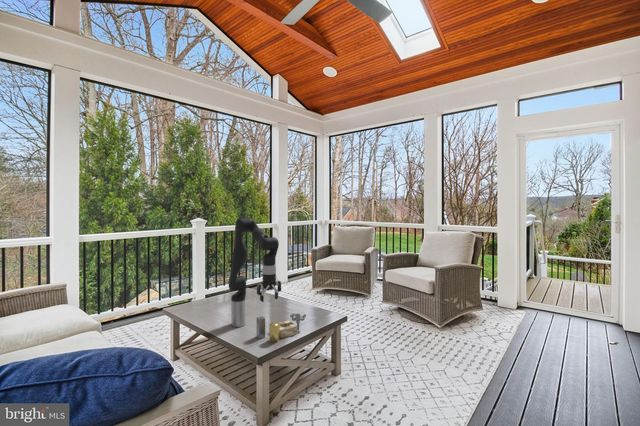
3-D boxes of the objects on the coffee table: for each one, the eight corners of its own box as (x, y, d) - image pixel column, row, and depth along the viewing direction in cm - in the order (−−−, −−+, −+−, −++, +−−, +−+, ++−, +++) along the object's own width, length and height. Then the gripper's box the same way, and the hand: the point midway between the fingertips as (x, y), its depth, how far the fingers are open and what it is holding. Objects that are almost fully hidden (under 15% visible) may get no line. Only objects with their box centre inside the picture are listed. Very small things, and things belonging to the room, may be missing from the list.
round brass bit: (268, 339, 194) (267, 323, 193) (276, 337, 197) (276, 321, 196) (272, 343, 189) (272, 326, 188) (281, 340, 192) (281, 324, 192)
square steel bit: (256, 336, 198) (256, 317, 197) (262, 334, 200) (262, 316, 200) (259, 338, 195) (259, 319, 194) (265, 337, 197) (265, 318, 196)
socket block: (271, 331, 205) (271, 324, 205) (288, 327, 212) (288, 320, 211) (280, 338, 195) (280, 330, 195) (297, 333, 202) (297, 326, 202)
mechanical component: (305, 329, 208) (305, 314, 207) (290, 330, 207) (290, 315, 207) (305, 328, 211) (305, 313, 210) (290, 328, 210) (290, 313, 210)
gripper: (277, 269, 188) (277, 296, 189) (254, 272, 180) (254, 300, 181) (283, 272, 182) (283, 300, 183) (260, 275, 174) (260, 304, 175)
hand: (269, 300), depth 182 cm, fingers open, 8 cm apart
